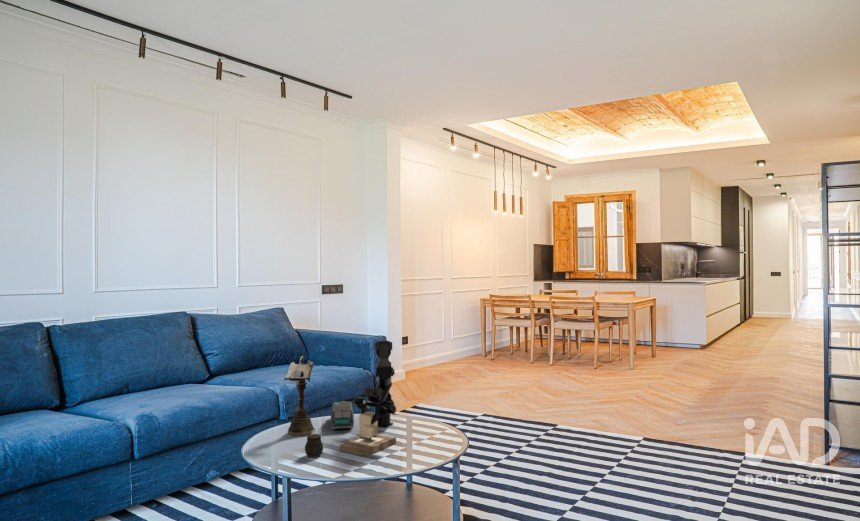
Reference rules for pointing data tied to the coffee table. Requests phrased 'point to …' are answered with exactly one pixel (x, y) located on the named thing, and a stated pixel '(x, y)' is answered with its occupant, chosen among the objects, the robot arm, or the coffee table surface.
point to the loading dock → (367, 445)
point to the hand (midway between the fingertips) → (366, 422)
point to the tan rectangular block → (367, 426)
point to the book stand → (300, 398)
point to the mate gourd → (313, 445)
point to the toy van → (342, 415)
